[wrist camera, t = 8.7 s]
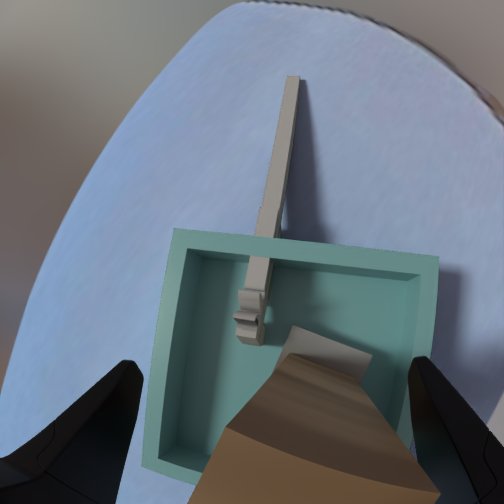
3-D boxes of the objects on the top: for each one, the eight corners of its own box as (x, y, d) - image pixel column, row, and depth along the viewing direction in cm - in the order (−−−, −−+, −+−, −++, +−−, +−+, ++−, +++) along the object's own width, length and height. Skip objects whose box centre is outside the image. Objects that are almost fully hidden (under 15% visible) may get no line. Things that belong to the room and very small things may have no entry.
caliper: (269, 342, 19) (252, 353, 13) (252, 340, 20) (227, 348, 14) (302, 76, 23) (296, 19, 17) (288, 76, 23) (280, 19, 17)
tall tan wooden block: (319, 451, 15) (312, 639, 2) (249, 424, 16) (126, 575, 3) (367, 352, 16) (501, 418, 3) (294, 324, 17) (237, 327, 4)
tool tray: (378, 484, 15) (388, 511, 11) (166, 448, 18) (141, 466, 14) (418, 268, 17) (439, 256, 14) (196, 243, 20) (174, 228, 17)
